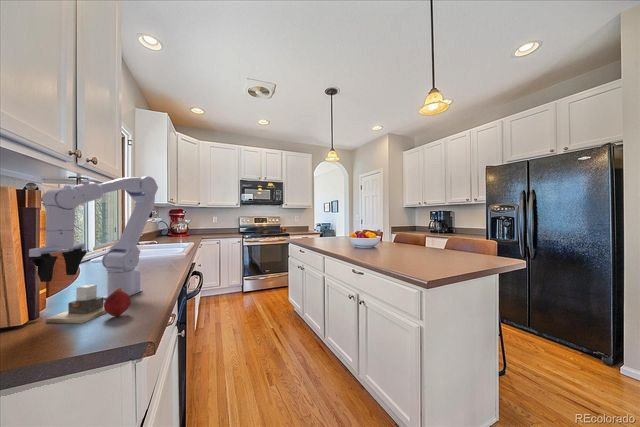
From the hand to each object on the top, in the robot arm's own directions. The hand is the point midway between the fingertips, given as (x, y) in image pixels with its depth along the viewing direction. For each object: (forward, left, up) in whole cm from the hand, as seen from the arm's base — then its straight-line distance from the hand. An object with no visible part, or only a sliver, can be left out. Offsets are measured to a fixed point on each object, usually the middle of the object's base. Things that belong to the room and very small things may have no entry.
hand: (59, 278), depth 71 cm
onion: (0, +18, -11) cm, 21 cm away
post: (-1, +7, -9) cm, 12 cm away
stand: (-1, +7, -11) cm, 13 cm away
